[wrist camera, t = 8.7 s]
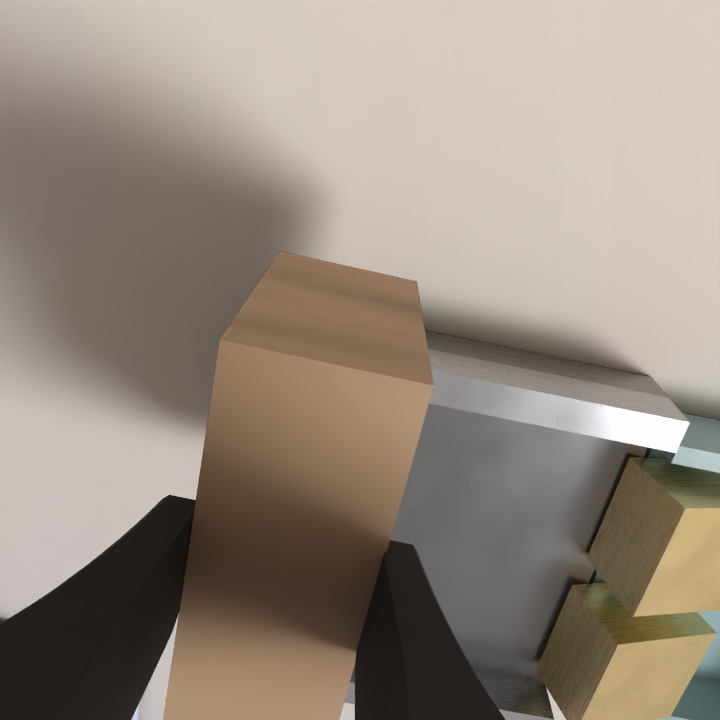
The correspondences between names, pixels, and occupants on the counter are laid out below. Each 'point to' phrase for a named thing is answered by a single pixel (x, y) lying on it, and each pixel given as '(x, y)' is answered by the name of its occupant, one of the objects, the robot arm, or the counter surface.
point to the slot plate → (519, 496)
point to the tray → (716, 671)
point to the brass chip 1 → (662, 539)
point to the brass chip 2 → (620, 657)
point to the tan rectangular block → (298, 490)
